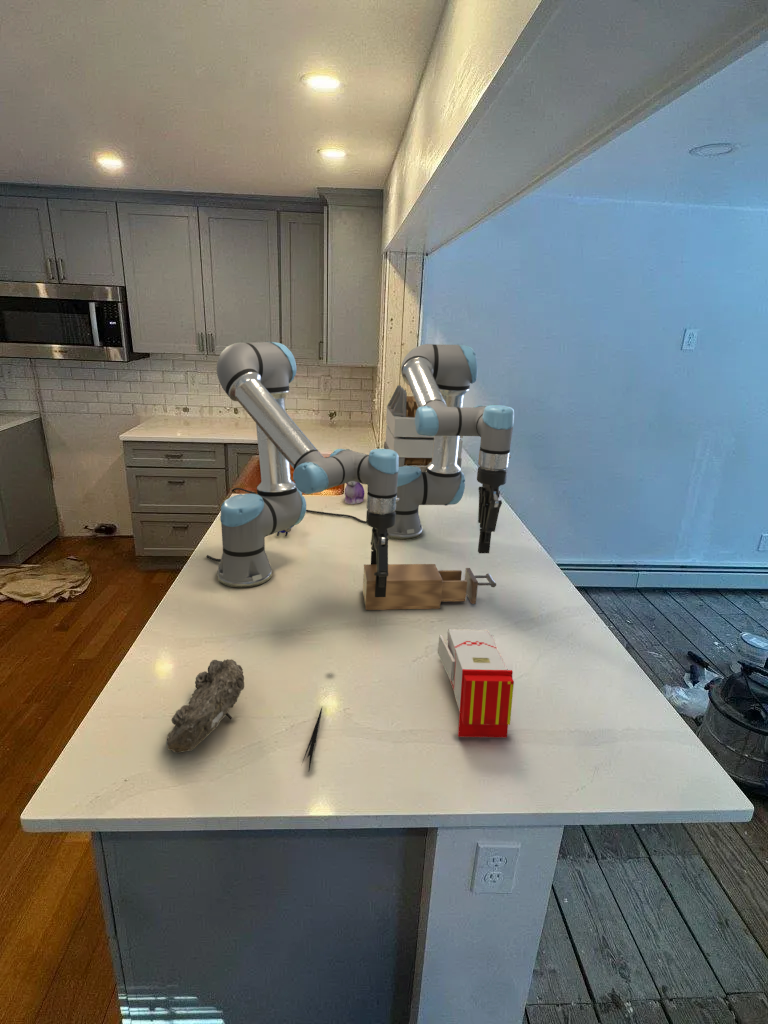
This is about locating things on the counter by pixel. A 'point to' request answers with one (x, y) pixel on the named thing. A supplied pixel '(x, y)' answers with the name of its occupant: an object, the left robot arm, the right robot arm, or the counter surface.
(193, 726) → the fossil
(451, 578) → the drawer
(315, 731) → the feather
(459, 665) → the toy
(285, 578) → the counter surface
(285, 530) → the figurine character
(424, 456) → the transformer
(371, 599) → the cabinet
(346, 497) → the figurine
